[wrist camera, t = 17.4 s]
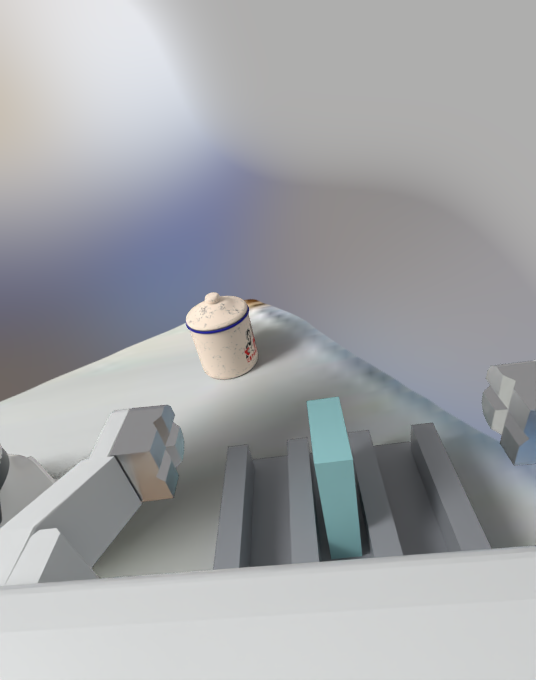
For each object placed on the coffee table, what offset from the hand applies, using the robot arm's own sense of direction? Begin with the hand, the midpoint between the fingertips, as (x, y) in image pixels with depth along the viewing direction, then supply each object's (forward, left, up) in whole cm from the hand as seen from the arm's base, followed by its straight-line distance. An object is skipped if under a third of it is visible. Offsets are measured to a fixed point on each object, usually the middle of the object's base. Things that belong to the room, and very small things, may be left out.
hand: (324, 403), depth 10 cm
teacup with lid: (-32, +29, -27) cm, 51 cm away
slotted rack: (-6, +10, -27) cm, 29 cm away
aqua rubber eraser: (-6, +10, -26) cm, 28 cm away
